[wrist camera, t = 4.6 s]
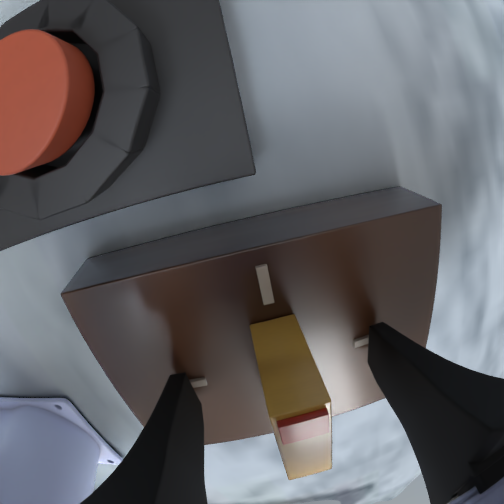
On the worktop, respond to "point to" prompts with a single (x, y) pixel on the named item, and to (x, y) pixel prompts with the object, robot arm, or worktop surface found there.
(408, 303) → the plate
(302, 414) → the lock knob
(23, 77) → the bell button
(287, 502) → the worktop surface
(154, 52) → the doorbell
